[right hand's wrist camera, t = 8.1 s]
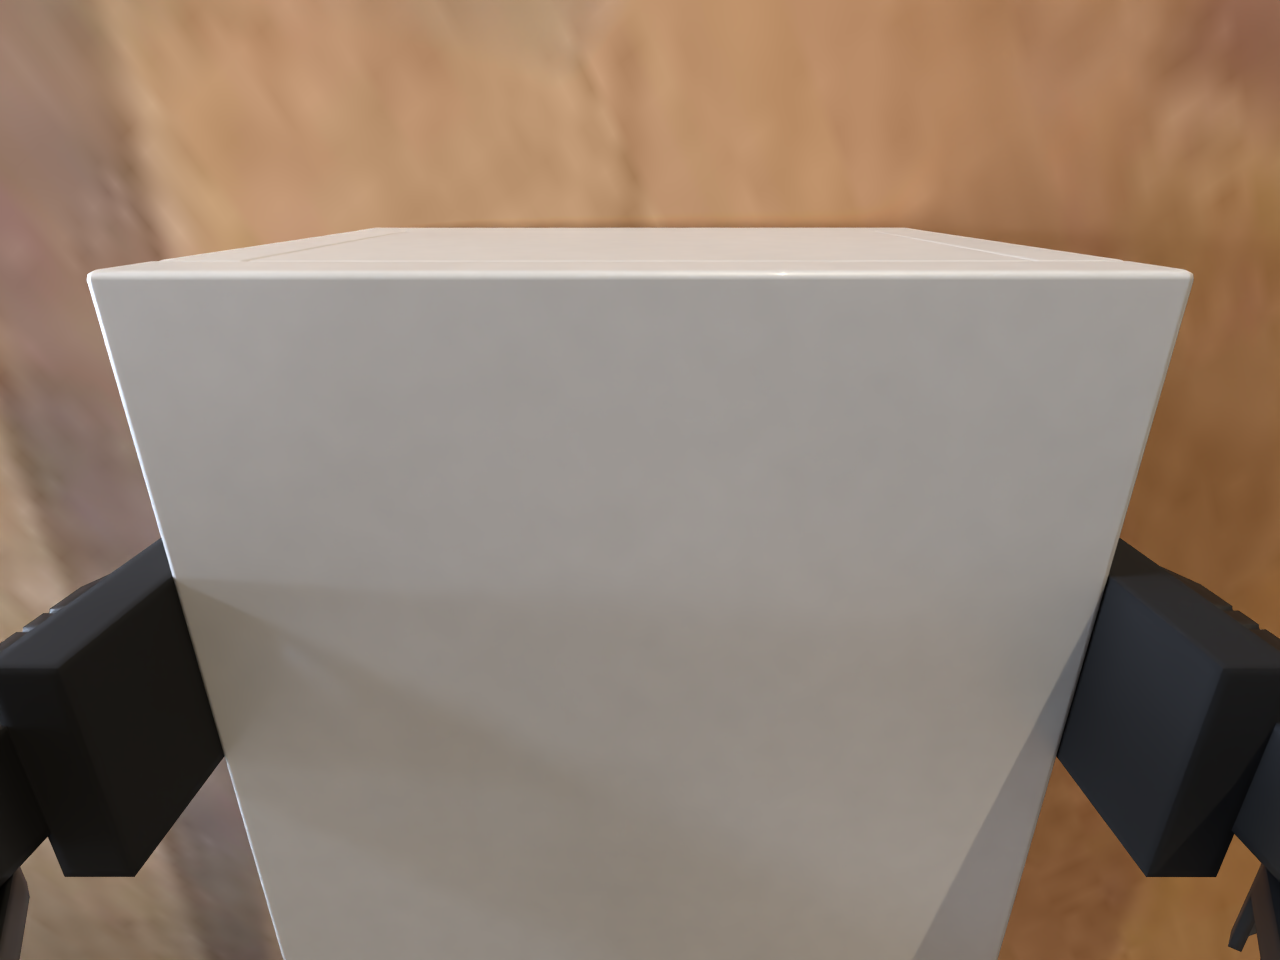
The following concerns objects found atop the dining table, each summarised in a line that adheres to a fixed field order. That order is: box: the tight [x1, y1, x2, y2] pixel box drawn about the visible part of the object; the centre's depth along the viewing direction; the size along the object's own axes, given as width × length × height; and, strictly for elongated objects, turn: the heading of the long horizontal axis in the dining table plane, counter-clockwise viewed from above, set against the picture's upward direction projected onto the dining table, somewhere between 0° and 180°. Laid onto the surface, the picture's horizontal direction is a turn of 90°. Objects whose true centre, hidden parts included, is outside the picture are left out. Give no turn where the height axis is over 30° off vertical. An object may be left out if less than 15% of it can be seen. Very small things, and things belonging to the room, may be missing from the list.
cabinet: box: [87, 228, 1194, 960], centre depth 14 cm, size 18×11×8 cm, turn 0°
